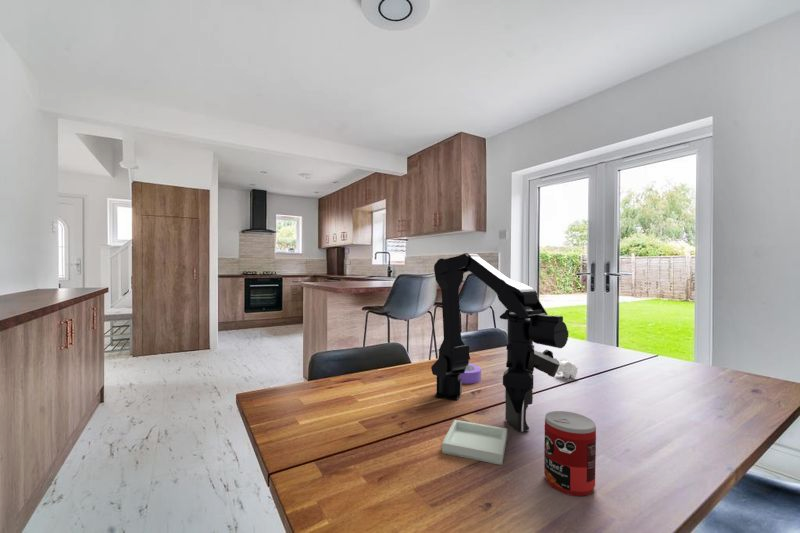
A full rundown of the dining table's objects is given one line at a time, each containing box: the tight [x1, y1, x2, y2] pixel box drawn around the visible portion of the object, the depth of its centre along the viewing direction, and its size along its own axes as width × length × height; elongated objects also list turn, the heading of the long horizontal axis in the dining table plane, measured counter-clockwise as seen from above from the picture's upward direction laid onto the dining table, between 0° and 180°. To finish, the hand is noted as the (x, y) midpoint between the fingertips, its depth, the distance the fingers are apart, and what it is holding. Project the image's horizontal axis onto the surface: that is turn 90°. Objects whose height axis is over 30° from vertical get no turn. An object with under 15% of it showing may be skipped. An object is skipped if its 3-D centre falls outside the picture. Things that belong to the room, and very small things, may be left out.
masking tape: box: [460, 362, 482, 385], centre depth 118 cm, size 12×12×4 cm
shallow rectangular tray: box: [441, 419, 508, 466], centre depth 73 cm, size 12×12×2 cm
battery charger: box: [504, 389, 534, 433], centre depth 83 cm, size 7×4×11 cm, turn 10°
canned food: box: [543, 410, 597, 497], centre depth 61 cm, size 8×8×11 cm
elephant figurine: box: [556, 357, 580, 380], centre depth 121 cm, size 7×8×6 cm
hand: (519, 406), depth 83 cm, fingers open, 8 cm apart
